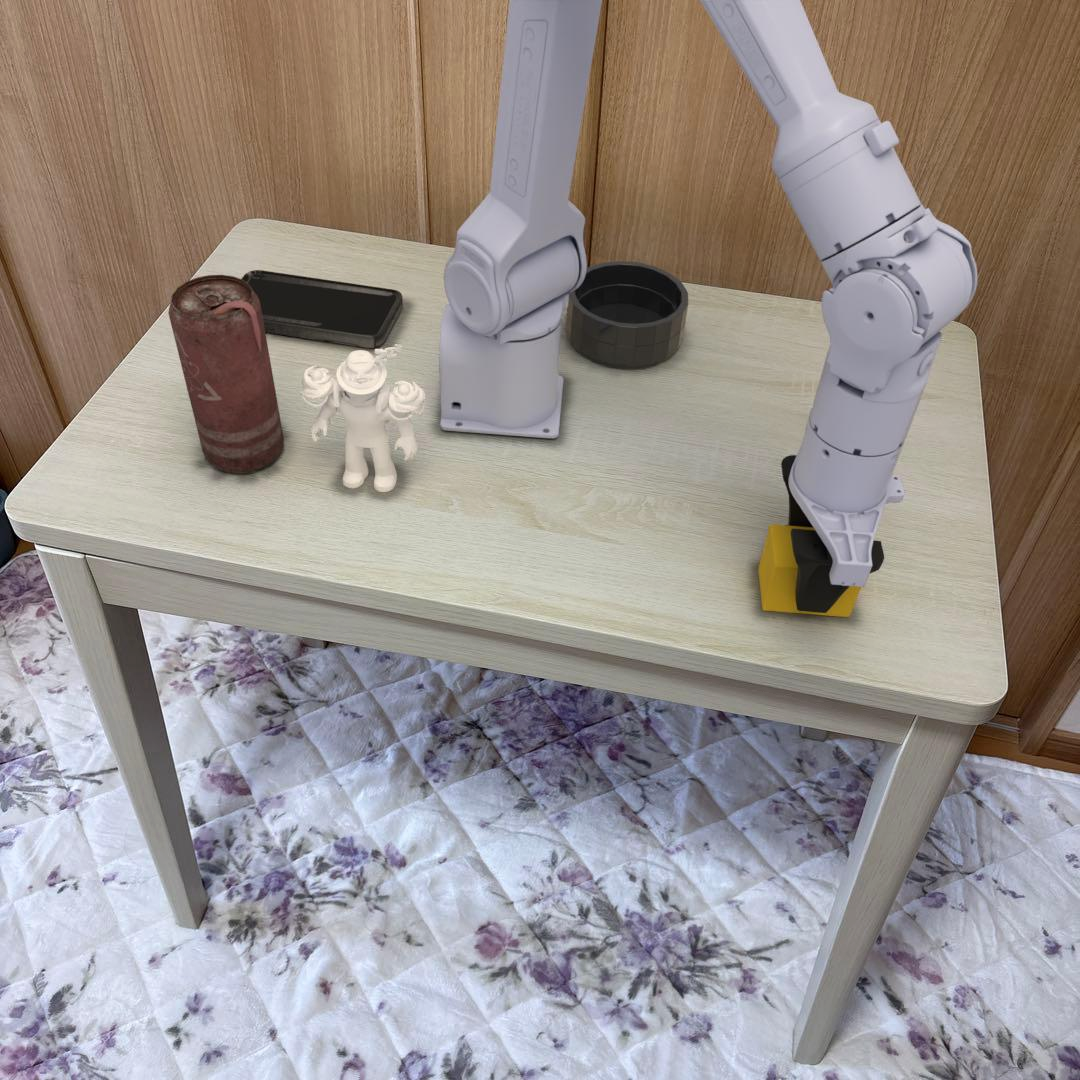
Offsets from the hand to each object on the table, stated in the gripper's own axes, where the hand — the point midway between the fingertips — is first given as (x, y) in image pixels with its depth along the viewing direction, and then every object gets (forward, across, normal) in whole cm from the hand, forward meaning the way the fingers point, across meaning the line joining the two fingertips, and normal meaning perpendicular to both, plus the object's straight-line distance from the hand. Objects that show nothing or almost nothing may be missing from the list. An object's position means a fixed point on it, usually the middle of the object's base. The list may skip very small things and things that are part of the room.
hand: (807, 579), depth 73 cm
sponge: (+1, 0, 0) cm, 1 cm away
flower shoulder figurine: (+2, +8, +32) cm, 33 cm away
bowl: (+1, +30, +13) cm, 32 cm away
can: (+2, +10, +42) cm, 43 cm away
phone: (+1, +29, +41) cm, 50 cm away
